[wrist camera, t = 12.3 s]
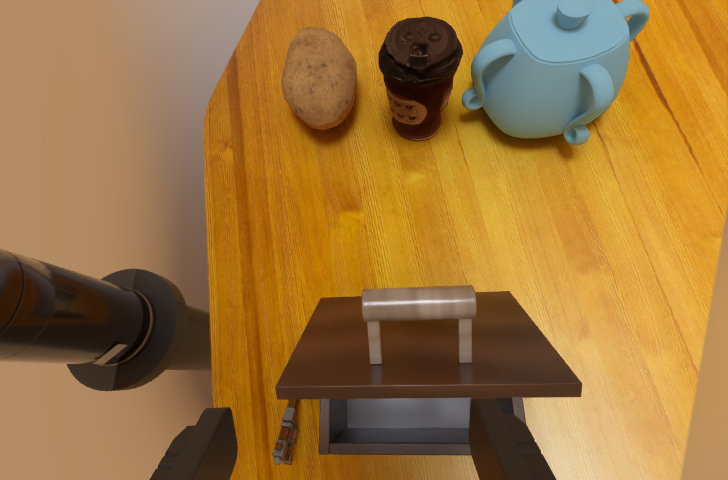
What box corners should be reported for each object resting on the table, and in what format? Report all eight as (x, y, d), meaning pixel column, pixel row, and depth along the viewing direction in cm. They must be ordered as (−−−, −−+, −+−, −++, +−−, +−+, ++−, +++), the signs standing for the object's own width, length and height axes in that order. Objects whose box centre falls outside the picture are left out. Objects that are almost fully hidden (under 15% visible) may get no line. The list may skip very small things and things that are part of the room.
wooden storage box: (500, 436, 36) (531, 455, 27) (340, 435, 38) (318, 454, 29) (485, 314, 40) (508, 296, 31) (341, 318, 42) (322, 302, 33)
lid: (581, 397, 19) (588, 299, 18) (276, 400, 20) (264, 310, 19) (509, 300, 31) (510, 238, 30) (321, 306, 32) (315, 247, 31)
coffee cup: (416, 162, 48) (419, 88, 35) (370, 125, 50) (358, 44, 38) (463, 118, 49) (481, 33, 37) (416, 85, 52) (419, -5, 39)
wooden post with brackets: (276, 473, 37) (264, 460, 33) (296, 391, 42) (287, 373, 39) (294, 475, 36) (284, 463, 33) (311, 392, 42) (304, 374, 39)
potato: (294, 153, 50) (274, 115, 43) (290, 71, 55) (271, 23, 47) (367, 142, 49) (360, 100, 42) (356, 59, 54) (348, 9, 47)
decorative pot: (507, 34, 53) (538, -74, 40) (622, 80, 48) (698, -26, 36) (445, 118, 49) (456, 28, 37) (562, 176, 45) (623, 96, 32)
